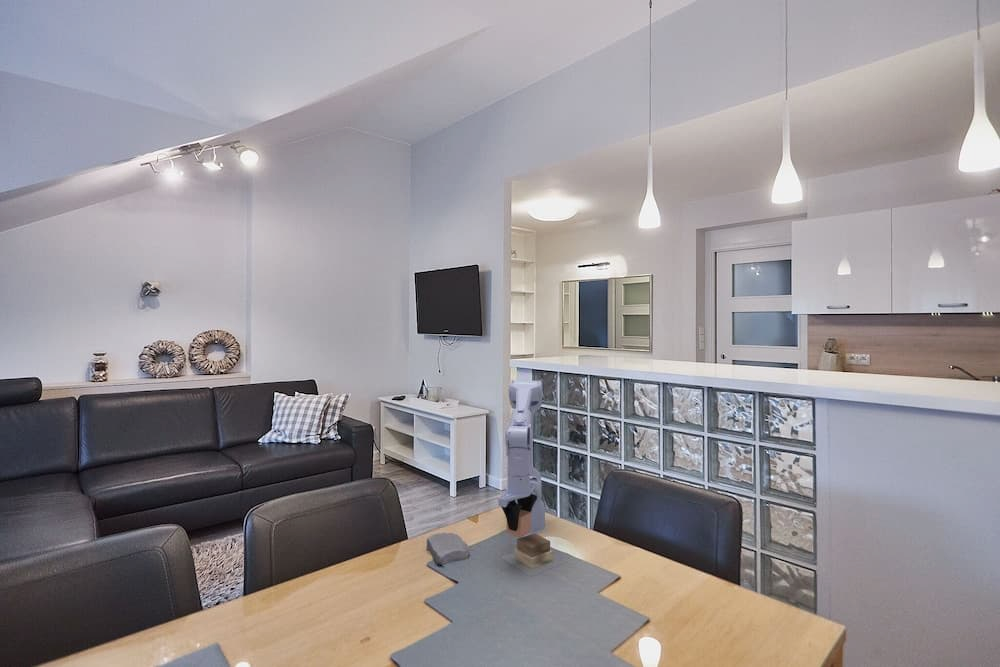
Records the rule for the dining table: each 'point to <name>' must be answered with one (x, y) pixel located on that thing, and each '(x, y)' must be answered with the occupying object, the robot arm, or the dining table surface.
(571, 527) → the dining table surface
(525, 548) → the walnut slab
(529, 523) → the terracotta block
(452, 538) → the stone block
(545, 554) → the beech slab
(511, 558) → the felt mat
